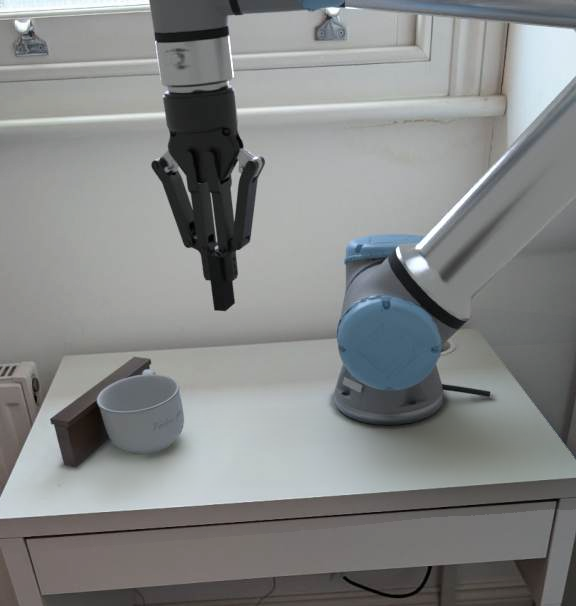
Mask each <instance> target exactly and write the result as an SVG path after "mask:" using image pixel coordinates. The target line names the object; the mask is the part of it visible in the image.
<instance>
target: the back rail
mask: <svg viewBox="0 0 576 606" xmlns="http://www.w3.org/2000/svg"><path fill="white" fill-rule="evenodd" d="M151 364H152V359H151V358H147V357H141V356H133V357H132V358H131V359H129V360H128V361H126V362H125V363H124V364H122V365H121V366H120V367H118V368H117V369H115V370H114V371H113V372H111V373H110V374H109V375H107V376H106V377H105V378H103V379H102V380H100V381H99V382H98V383H96V384H95V385H94V386H93V387H91V388H90V389H88V390H87V391H86V392H84V393H83V394H82V395H80V396H79V397H78V398H76V399H75V400H73V401H72V402H70V403H69V404H68V405H67V406H65V407H64V408H62V409H61V410H59V411H58V412H57V413H55V414H54V415H52V417H50V418H49V421H50V424H51V425H53V427H54V430H55V435H56V438H57V443H58V447H59V450H60V454H61V458H62V463H63V465H64V466H67V467H72V468H77V467H78V466H79V465H81V464H82V463H84V461H85V460H87V459H88V458H89V457H90V456H91V455H93V454H94V453H95V452H96V451H97V450H99V449H100V448H101V447H102V446H103V445H105V444H106V443H107V442H108V441H110V440H111V439H110V438H109V435H108V433H107V430H106V428H105V425H104V421H103V418H102V415H101V411H100V408H99V406H98V404H97V397H98V395H99V393H100V392H101V391H102V390H103V389H105V388H106V387H108V386H109V385H111V384H113V383H115V382H117V381H119V380H122V379H125V378H129V377H133V376H138V375H142V373H143V371H144V370H147V369H151Z"/></svg>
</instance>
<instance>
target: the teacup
mask: <svg viewBox="0 0 576 606" xmlns="http://www.w3.org/2000/svg"><path fill="white" fill-rule="evenodd" d="M97 404H98V406H99V408H100V411H101V415H102V418H103V421H104V425H105V428H106V430H107V433H108V435H109V438H110V439H109V440H110V441H111V442H112V444H114V445H115V446H116V447H117V448H119V449H121V450H123V451H125V452H128V453H131V454H135V455H151V454H156V453H159V452H161V451H164V450H166V449H167V448H168V447H170V446H172V444H173V443H174V441H176V440H177V439H178V437H179V436H180V435H181V434H182V432H183V429H184V426H185V416H184V415H185V414H184V408H183V402H182V396H181V393H180V384H179V382H178V380H177V379H175V378H173V377H172V376H169V375H165V374H158V373H156V371H155V370H154V369H151V368H150V369H147V370H144V371H143V373H142V375H138V376H133V377H129V378H125V379H122V380H119V381H117V382H115V383H113V384H111V385H109V386H108V387H106V388H105V389H103V390H102V391H101V392H100V393H99V395H98V397H97Z"/></svg>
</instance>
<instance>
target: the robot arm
mask: <svg viewBox="0 0 576 606" xmlns="http://www.w3.org/2000/svg"><path fill="white" fill-rule="evenodd" d="M148 2H149V8H150V14H151V20H152V21H151V22H152V27H153V34H154V41H155V42H154V44H155V51H156V57H157V64H158V71H159V78H160V84H161V85H162V86H163V87H166V88H167V90H166V91H165V92H163V95H162V99H163V100H162V101H163V106H164V107H163V108H164V114H165V115H164V116H165V122H166V123H165V124H166V127H167V129H168V131H169V139H168V143H167V151H166V152H165V153H163V154H162V155H161V156H160V157H158V158H156V159H154V160H153V161H152V162H151V164H150V166H151V169H152V171H153V172H154V174H155V175H156V176H157V178H158V179H159V181H160V182H161V185H162V187H163V190H164V192H165V195H166V198H167V201H168V204H169V207H170V209H171V212H172V215H173V218H174V221H175V224H176V226H177V230H178V232H179V235H180V238H181V241H182V243H183V245H184V247H185V248H187V249H193V250H195V251H198V252H199V254H200V258H201V259H200V260H201V267H202V275H203V278H204V280H205V281H210V287H211V288H210V289H211V297H212V304H213V311H215V312H216V311H217V312H219V311H220V312H227V311H228V310H229V309H230V308H232V307H233V306H234V305H235V304H236V299H235V291H234V281H235V280H236V279H237V278H238V276H239V270H238V261H237V251H240V250H241V249H243V248H244V247H246V246H247V245H248V244H249V243H250V242H251V240H252V239H251V237H252V230H253V222H254V213H255V204H256V196H257V189H258V181H259V180H258V179H259V177H260V175H261V173H262V171H263V169H264V167H265V165H266V160H265V157H263V156H262V155H257V156H255V155H254V154H252V153H251V152H249V150H247V149H245V147H244V145H245V144H244V141H243V139H242V137H241V136H240V133H239V130H238V128H239V127H238V126H239V125H238V123H239V119H238V108H237V97H236V89H235V88H234V87H233V86H232V85H231V84H229V82H230V81H232V80H233V78H234V77H235V76H234V75H235V73H234V67H233V66H234V65H233V58H232V50H231V49H232V48H231V40H230V28H229V16H244V15H254V14H255V15H256V14H271V13H272V14H273V13H288V12H289V13H290V12H301V11H307V12H312V13H313V12H315V11H321V10H322V9H330V8H334V9H340V8H341V9H353V10H365V11H374V12H385V13H394V14H395V13H396V14H405V15H406V14H407V15H417V16H428V17H437V18H450V19H461V20H471V21H482V22H492V23H503V24H515V25H525V26H534V27H535V26H536V27H546V28H557V29H567V30H573V31H574V32H575V33H576V0H148ZM237 163H238V173H239V174H240V177H239V180H238V185H237V194H236V202H235V203H236V204H235V213H234V207H233V197H232V185H233V179H232V173H233V171H234V169H235V168H236V165H237ZM179 168H180V170H181V171H182V173H183V174H184V175H185V179H186V185H187V188H186V186H185V183H184V180H183V177H182V175H181V173H180V171H179ZM188 192H189V193H190V198H189V194H188ZM575 198H576V75H575V76H574V77H573V78H572V79H571V80H570V81H569V82H568V84H567V85H565V86H564V87H563V89H562V90H561V91H560V92H559V93H558V94H557V95H556V96H555V97H554V99H553V100H552V101H550V102H549V104H548V105H547V106H546V107H545V108H544V109H543V110H542V111H541V112H540V114H539V115H537V116H536V117H535V118H534V120H533V121H532V122H531V123H530V124H529V125H528V126H527V127H526V128H525V130H524V131H523V132H522V133H521V134H520V135H519V136H518V137H516V139H515V140H514V141H513V142H512V143H511V144H510V145H509V147H508V148H506V150H505V151H504V152H503V153H502V154H501V155H500V156H499V157H498V158H497V159H496V160H495V161H494V163H492V165H490V167H489V168H488V169H487V170H486V171H485V172H484V173H483V174H482V175H481V177H480V178H478V179H477V181H476V182H475V183H474V184H473V185H472V186H471V187H470V189H468V190H467V191H466V192H465V193H464V194H463V196H462V197H461V198H460V199H459V200H458V201H457V202H456V203H455V204H454V205H453V206H452V207H451V208H450V209H449V210H448V211H447V213H446V214H445V215H444V216H442V217H441V219H440V220H439V221H438V222H437V223H436V225H434V227H432V229H430V231H429V232H427V234H426V235H425V236H424V235H423V236H422V235H418V234H408V233H407V234H406V233H390V234H389V233H385V234H384V233H383V234H374V235H366V236H361V237H357V238H355V239H352V240H350V241H349V242H348V243H347V245H346V247H345V258H344V260H343V262H344V265H345V290H344V296H343V297H344V298H343V301H342V307H341V312H340V318H339V320H338V323H337V326H336V327H337V328H336V341H337V348H338V355H339V357H340V359H341V362H342V366H341V369H340V371H339V375H338V378H337V381H336V384H335V388H334V400H335V401H334V403H335V406H336V407H337V409H338V410H339V411H340V412H341V413H342V414H343V415H345V416H347V417H348V418H351V419H353V420H355V421H359V422H362V423H366V424H371V425H381V426H382V425H385V426H390V425H391V426H392V425H404V424H405V425H406V424H410V423H414V422H418V421H422V420H425V419H427V418H428V417H430V416H432V415H434V414H435V413H436V412H438V411H439V410H440V408H441V407H442V404H443V400H444V399H443V396H444V391H447V392H448V391H449V392H455V393H456V392H457V393H462V394H469V395H475V396H482V397H487V398H490V397H491V391H490V390H484V389H477V388H472V387H466V386H460V385H452V384H445V383H443V382H442V379H441V376H440V373H439V370H438V366H437V364H438V361H439V359H440V357H441V355H442V350H443V345H444V344H446V342H447V341H448V340H450V339H451V337H453V336H454V335H455V334H456V333H457V332H458V331H459V330H460V329H461V328H462V327H463V326H464V325H465V324H466V323H467V322H468V321H469V320H470V319H471V317H472V305H473V303H472V302H473V298H474V297H475V296H476V295H477V294H478V293H479V292H480V291H481V290H482V289H483V288H484V287H485V286H486V285H487V284H488V283H489V282H490V281H491V280H492V279H493V278H494V277H496V275H497V274H498V273H500V272H501V271H502V269H504V267H506V265H508V264H509V262H511V261H512V260H513V259H514V258H515V257H516V256H517V255H518V254H519V253H520V252H521V251H522V250H523V249H524V248H525V247H526V246H528V244H529V243H530V242H531V241H532V240H533V239H534V238H535V237H537V235H539V234H540V232H541V231H543V229H544V228H545V227H546V226H547V225H549V224H550V223H551V222H552V220H553V219H556V217H557V216H558V215H559V214H560V213H561V212H562V211H563V210H564V209H565V208H566V207H567V206H568V205H569V204H571V202H572V201H573V200H574V199H575ZM190 200H191V201H190ZM216 247H217V248H216Z"/></svg>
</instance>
